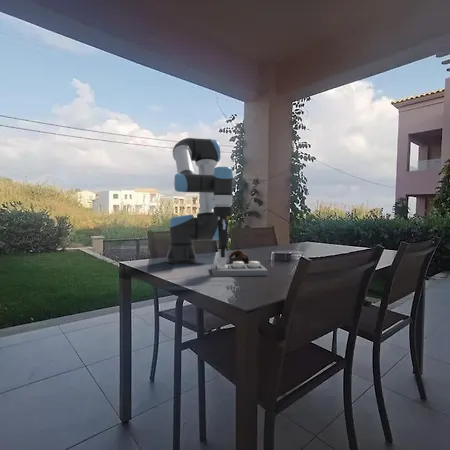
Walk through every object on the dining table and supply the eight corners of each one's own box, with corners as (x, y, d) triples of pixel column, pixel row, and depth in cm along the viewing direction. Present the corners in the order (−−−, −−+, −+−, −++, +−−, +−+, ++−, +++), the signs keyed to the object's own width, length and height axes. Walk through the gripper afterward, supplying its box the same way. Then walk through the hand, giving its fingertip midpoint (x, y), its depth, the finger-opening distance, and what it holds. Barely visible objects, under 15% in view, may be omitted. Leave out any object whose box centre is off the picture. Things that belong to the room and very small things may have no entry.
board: (211, 271, 129) (211, 264, 129) (259, 271, 131) (259, 263, 131) (213, 279, 115) (213, 270, 115) (267, 278, 117) (267, 270, 117)
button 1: (216, 270, 124) (216, 264, 124) (227, 270, 125) (227, 264, 125) (217, 272, 120) (217, 266, 120) (228, 272, 120) (228, 266, 120)
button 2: (247, 266, 126) (247, 261, 125) (258, 266, 126) (258, 261, 126) (249, 268, 121) (249, 263, 121) (260, 268, 122) (260, 262, 122)
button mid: (232, 266, 125) (232, 261, 125) (242, 266, 125) (242, 261, 125) (233, 268, 121) (233, 263, 120) (244, 268, 121) (244, 263, 121)
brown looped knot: (253, 268, 140) (246, 253, 138) (234, 276, 140) (227, 262, 138) (248, 257, 152) (241, 243, 149) (231, 265, 152) (224, 252, 149)
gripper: (212, 206, 127) (212, 262, 128) (214, 205, 114) (214, 268, 115) (230, 206, 128) (229, 262, 129) (234, 206, 115) (233, 267, 116)
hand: (222, 264), depth 122 cm, fingers closed
